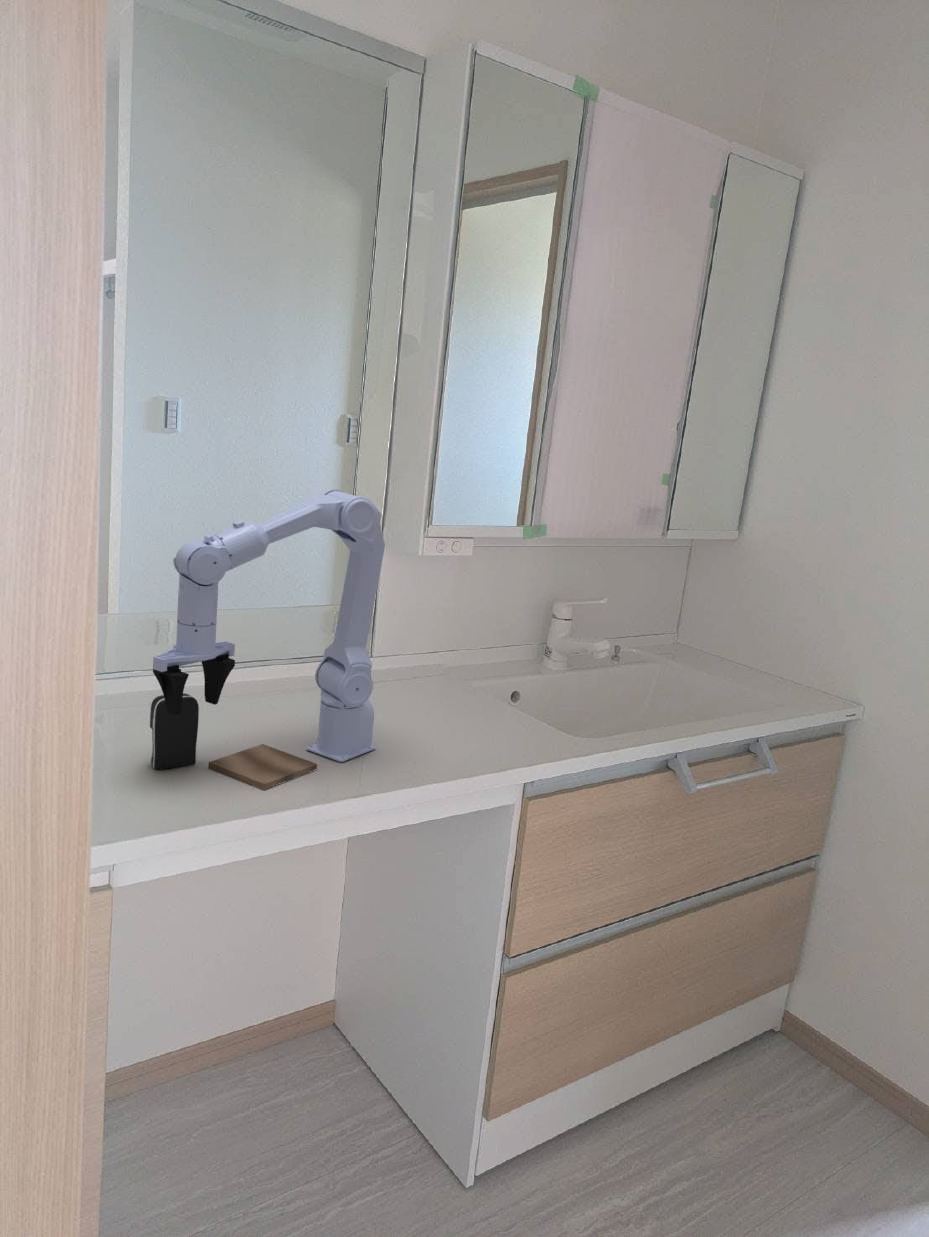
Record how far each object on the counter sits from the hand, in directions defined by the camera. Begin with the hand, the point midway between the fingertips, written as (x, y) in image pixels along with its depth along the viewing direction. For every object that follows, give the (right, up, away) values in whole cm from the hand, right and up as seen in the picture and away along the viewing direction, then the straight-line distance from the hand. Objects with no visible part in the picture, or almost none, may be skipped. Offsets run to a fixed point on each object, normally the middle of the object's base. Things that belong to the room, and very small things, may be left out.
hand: (192, 707), depth 152 cm
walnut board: (+9, -10, +6) cm, 15 cm away
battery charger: (-5, -9, +5) cm, 11 cm away
